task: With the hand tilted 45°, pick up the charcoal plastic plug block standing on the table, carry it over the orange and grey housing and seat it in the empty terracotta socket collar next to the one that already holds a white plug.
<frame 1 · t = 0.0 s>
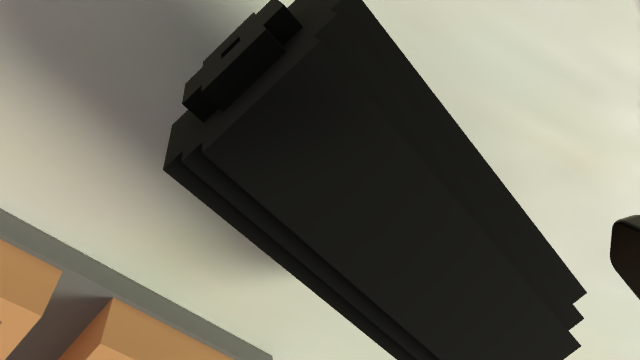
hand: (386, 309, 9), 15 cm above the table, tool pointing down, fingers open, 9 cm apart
orange and grey housing: (54, 328, 24), on the table
security camera: (360, 162, 24), on the table
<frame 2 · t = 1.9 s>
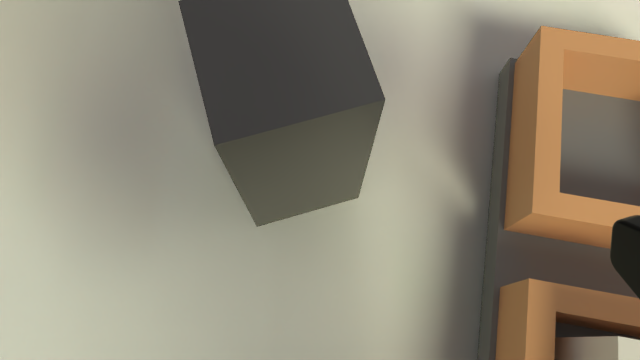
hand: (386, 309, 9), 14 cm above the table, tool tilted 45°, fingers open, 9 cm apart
orange and grey housing: (584, 291, 22), on the table
plug: (293, 164, 24), on the table
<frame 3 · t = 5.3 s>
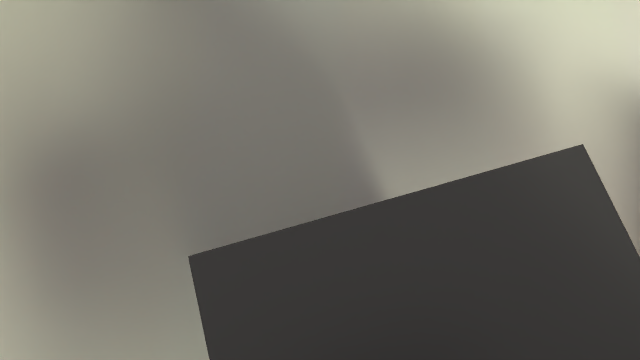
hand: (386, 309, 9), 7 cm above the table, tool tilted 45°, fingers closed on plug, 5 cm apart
when the fingers open (9 cm above the table, at t = 9.4 s): plug drops 1 cm, resting on orange and grey housing.
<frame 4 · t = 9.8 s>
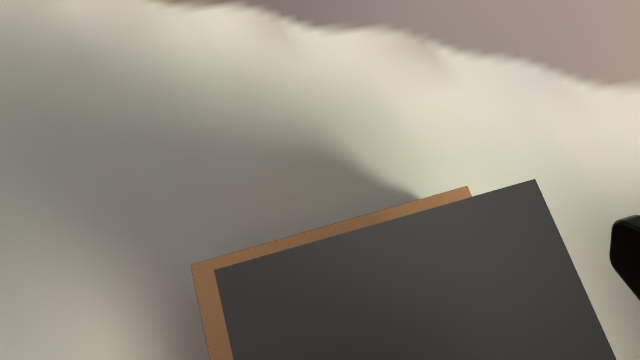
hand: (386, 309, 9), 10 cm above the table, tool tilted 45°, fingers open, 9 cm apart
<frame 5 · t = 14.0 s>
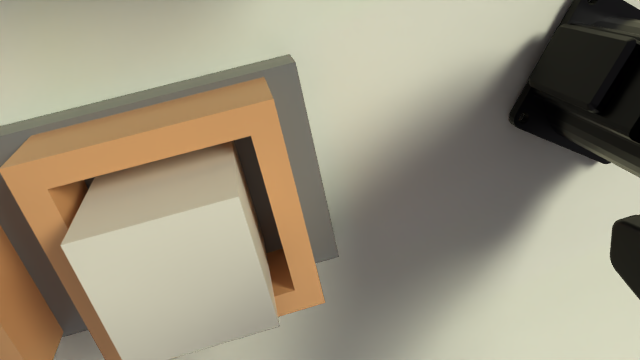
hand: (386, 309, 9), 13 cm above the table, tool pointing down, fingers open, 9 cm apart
orange and grey housing: (71, 220, 21), on the table
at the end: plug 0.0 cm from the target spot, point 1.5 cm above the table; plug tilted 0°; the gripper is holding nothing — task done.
